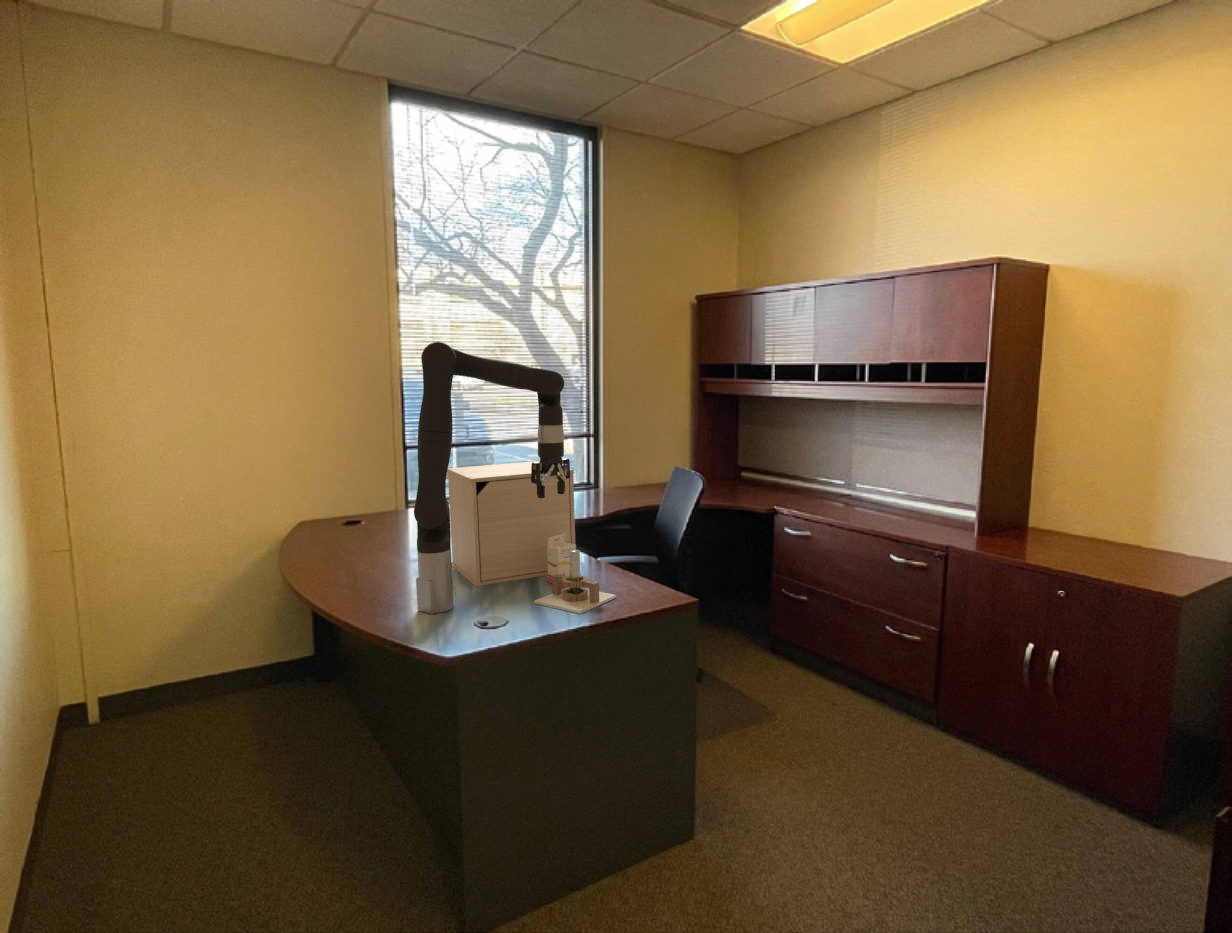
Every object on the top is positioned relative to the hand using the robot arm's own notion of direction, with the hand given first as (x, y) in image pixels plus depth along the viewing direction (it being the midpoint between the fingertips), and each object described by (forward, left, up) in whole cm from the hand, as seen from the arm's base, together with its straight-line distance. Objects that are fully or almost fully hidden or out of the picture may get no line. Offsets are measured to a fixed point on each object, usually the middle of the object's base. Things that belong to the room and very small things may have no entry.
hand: (551, 495), depth 210 cm
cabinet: (+17, +34, -31) cm, 49 cm away
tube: (+1, -7, -30) cm, 31 cm away
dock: (+1, -7, -31) cm, 31 cm away
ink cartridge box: (+14, +9, -31) cm, 35 cm away
